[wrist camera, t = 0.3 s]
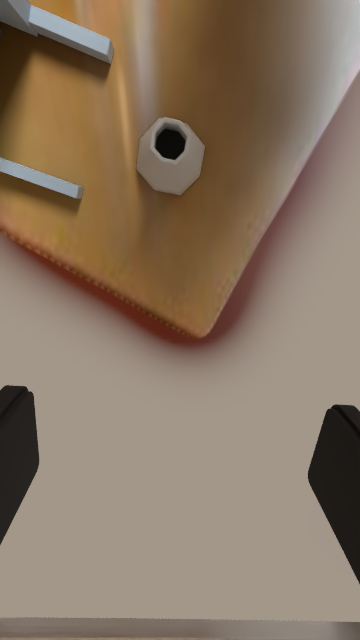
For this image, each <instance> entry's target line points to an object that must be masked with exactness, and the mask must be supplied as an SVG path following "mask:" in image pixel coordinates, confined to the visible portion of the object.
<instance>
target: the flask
mask: <svg viewBox="0 0 360 640" xmlns="http://www.w3.org/2000/svg"><path fill="white" fill-rule="evenodd" d="M204 151H205V146H204V144H203V143H202V142H201V140H200V139H199V138H198V137H197V135H196V134H195V133H194V132H193V130H192V129H191V128H190V126H189V125H188V124H187V123H183V122H181V121H180V120H177V119H172V118H168V117H163V118H160V117H159V118H158V119H157V120H156V122H155V123H154V124H153V125H152V126H151V127H150V128H149V129H148V130H147V131H146V133H145V134H144V135H143V136H142V137H141V138H140V140H139V148H138V156H137V165H136V170H137V171H138V172H139V173H140V174H141V175H142V177H143V178H144V179H145V180H146V181H147V182H148V183H149V184H150V186H151V187H152V188H153V189H154V190H155V191H160V192H165V193H170V194H175V195H181V194H182V193H183V192H185V191H186V190H187V189H188V188H189V187H190V186H191V185H192V184H193V183H194V182H195V181H196V180H197V179H198V178H199V177H200V173H201V168H202V162H203V157H204Z"/></svg>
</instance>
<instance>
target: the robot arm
mask: <svg viewBox="0 0 360 640" xmlns="http://www.w3.org/2000/svg"><path fill="white" fill-rule="evenodd" d="M38 466H39V452H38V441H37V430H36V418H35V407H34V396H33V393H32V392H29V391H28V389H27V387H25V386H9V385H7V386H5V387H3V388H2V389H1V390H0V544H1V542H2V540H3V538H4V536H5V534H6V532H7V530H8V528H9V526H10V524H11V522H12V520H13V518H14V516H15V514H16V512H17V510H18V508H19V506H20V504H21V502H22V500H23V498H24V496H25V494H26V492H27V490H28V488H29V486H30V484H31V482H32V480H33V478H34V476H35V474H36V472H37V469H38ZM308 479H309V483H310V486H311V487H312V490H313V492H314V493H315V495H316V497H317V499H318V501H319V503H320V505H321V507H322V509H323V511H324V513H325V515H326V517H327V519H328V521H329V523H330V525H331V527H332V529H333V531H334V533H335V535H336V537H337V539H338V541H339V543H340V545H341V547H342V549H343V551H344V553H345V555H346V557H347V559H348V561H349V563H350V565H351V567H352V569H353V571H354V573H355V575H356V577H357V579H358V581H359V583H360V411H359V410H358V409H357V408H356V407H355V406H351V405H333V406H332V407H331V409H328V410H327V412H326V415H325V417H324V421H323V424H322V427H321V431H320V434H319V437H318V441H317V444H316V447H315V451H314V454H313V458H312V460H311V464H310V467H309V471H308ZM0 640H360V622H323V621H273V620H272V621H271V620H211V619H210V620H209V619H208V620H207V619H136V618H135V619H134V618H133V619H132V618H129V619H128V618H0Z"/></svg>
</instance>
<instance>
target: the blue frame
mask: <svg viewBox="0 0 360 640" xmlns="http://www.w3.org/2000/svg"><path fill="white" fill-rule="evenodd" d="M0 21H1V22H3V23H5V24H8V25H10V26H12V27H15V28H17V29H20V30H22V31H24V32H27V33H29V34H31V35H34V36H36V37H37V36H38V33H39V34H41V35H43V36H46V37H48V38H50V39H53V40H55V41H57V42H60V43H62V44H65V45H67V46H69V47H72V48H74V49H76V50H79V51H81V52H83V53H86V54H88V55H90V56H93V57H95V58H98V59H100V60H102V61H105V62H107V63H109V64H111V62H112V57H113V52H114V48H113V45H112V43H111V40H110V39H108V38H106V37H104V36H101V35H99V34H97V33H95V32H92V31H90V30H88V29H85V28H83V27H81V26H78V25H76V24H74V23H72V22H69V21H67V20H65V19H62V18H60V17H58V16H56V15H53V14H51V13H49V12H46V11H44V10H42V9H39V8H37V7H35V6H33V5H31V4H30V3H29V1H28V0H0ZM0 38H1V28H0ZM0 171H1V172H4V173H6V174H9V175H12V176H15V177H18V178H21V179H23V180H26V181H29V182H32V183H35V184H37V185H40V186H43V187H46V188H49V189H51V190H54V191H57V192H60V193H63V194H66V195H68V196H71V197H74V198H82V194H83V189H84V187H82V186H79V185H76V184H73V183H71V182H68V181H65V180H62V179H59V178H57V177H54V176H51V175H48V174H46V173H43V172H40V171H37V170H35V169H32V168H29V167H26V166H24V165H21V164H18V163H15V162H12V161H10V160H7V159H4V158H1V157H0Z"/></svg>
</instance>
